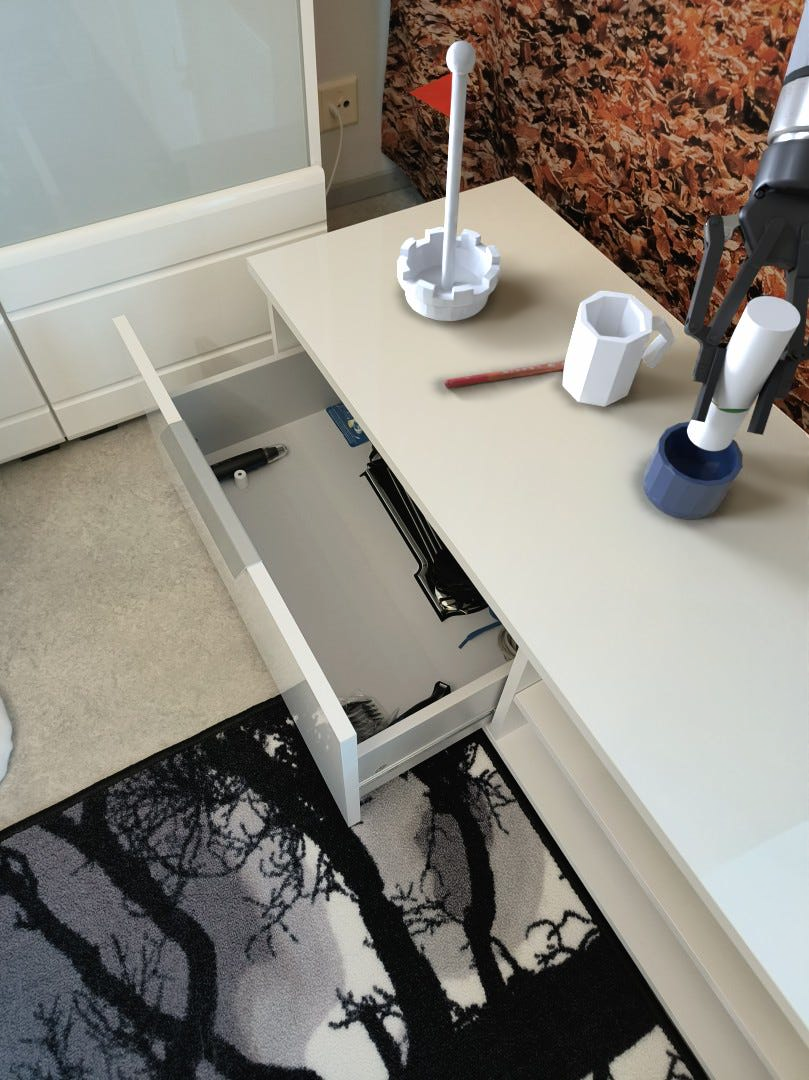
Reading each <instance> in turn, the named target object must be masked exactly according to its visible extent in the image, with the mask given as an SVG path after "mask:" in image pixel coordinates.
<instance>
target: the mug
mask: <svg viewBox="0 0 809 1080" xmlns="http://www.w3.org/2000/svg"><path fill="white" fill-rule="evenodd" d="M576 314H577V315H576V319H575V323H574V327H573V330H572V334H571V338H570V342H569V345H568V348H567V353H566V356H565V360H564V361H565V366H564V370H562V371H563V372H562V387H563V388H564V389H565V390H566V391H567V392H568V393H569V394H570V396H572V397H573V399H574V400H576V402H577V403H581V404H587V405H592V406H598V407H605V408H606V407H607V406H609V405H612V404H614V403H615V402H618V401H619V400H621V399H623V398H625V397H627V396H628V395H629V392H630V390H631V388H632V384H633V382H634V379H635V376H636V374H637V372H638V369H639V366H640V363H641V361H642V362H643V363H644V364H645V365H646V366H647V368H648V367H649V368H653V369H655V368H656V367H657V366H658V365H659V363H660V361H661V360H663V357H664V356H665V355H666V354H667V352H668V351H669V350H670V349H671V347H672V346H673V344H674V343H675V342H676V341H677V337H676V336H675V335H674V333H673V330H672V328H671V327H670V325H669V324H668V323H667V321H665V319H664V318H663V316H662V315H661V314H659V315H654V316H653V312H652V311H651V310H650V309H649V308H648V307H647V306H645V305H644V304H643V303H642V302H641V301H640V300H639V299H638V298H637V297H635V296H634V294H630V293H624V292H616V291H609V290H602V289H600V290H599V291H597V292H595V293H594V294H592V295H590V296H589V297H587V298H585V299H583V300H582V301H581V302H580V303H579V307H578V310H577V313H576ZM652 332H659V334H658V335H657V336H656V337H655V338H654V339H653V340H652V342H651V343H650V344H649V345H648V342H649V340H650V338H651V334H652ZM647 345H648V346H647Z"/></svg>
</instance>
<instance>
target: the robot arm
mask: <svg viewBox="0 0 809 1080" xmlns="http://www.w3.org/2000/svg"><path fill="white" fill-rule="evenodd" d="M799 21H800V22H799V25H798V29H797V33H796V36H795V39H794V42H793V46H792V50H791V54H790V58H789V60H788V64H787V68H786V72H785V75H784V78H783V84H782V87H781V90H780V93H779V97H778V99H777V103H776V105H775V110H774V112H773V116H772V120H771V122H770V126H769V129H768V132H767V135H766V143H767V145H768V146H767V147H766V148H765V149H764V150H763V151H762V152H761V155H760V158H759V162H758V164H757V165H758V166H757V169H756V172H755V176H754V179H753V183H752V186H751V189H750V193H749V195H748V198H747V201H746V203H745V204H744V205H743V206H742V207H741V209H739V211H738V213H733V214H728V215H724V216H722V215H720V214H717V213H716V214H713V215H711V216H710V217H709V218H708V220H707V221H706V222H705V223H704V225H703V243H704V244H703V245H704V251H703V254H702V258H701V262H700V266H699V270H698V273H697V277H696V281H695V285H694V288H693V293H692V296H691V300H690V304H689V307H688V311H687V315H686V319H685V322H684V327H683V332H684V334H685V335H686V336H689V337H691V338H692V339H694V340H695V341H697V342H698V344H699V351H698V355H697V358H696V360H695V365H694V367H693V371H692V374H691V378H692V382H695V383H700V384H701V386H700V389H699V392H698V395H697V399H696V401H695V405H694V408H693V412H692V415H691V419H690V421H691V420H694V421H699V422H705V421H706V417H707V414H708V411H709V407H710V404H711V401H712V397H713V394H714V391H715V388H716V384H717V381H718V378H719V374H720V371H721V368H722V365H723V361H724V358H725V355H726V351H727V349H726V348H724V347H719V344H720V343H721V341H722V339H723V337H724V335H725V333H726V332H727V330H728V328H729V327H730V325H731V323H732V321H733V319H734V317H735V315H736V313H738V310H739V308H740V307H741V304H742V302H743V301H744V299H745V297H746V295H747V294H748V292H749V290H750V288H751V286H752V284H753V283H754V281H755V279H756V277H757V275H758V274H759V273H760V271H761V270H762V268H763V267H775V268H777V269H779V270H782V271H785V278H784V280H785V281H784V282H785V297H784V300H785V301H787V302H789V303H790V304H792V305H793V306H794V307H795V308H796V309H797V310H798V312H799V314H800V322H799V324H798V326H797V328H796V330H795V331H794V333H793V335H792V337H791V338H790V340H789V342H788V344H787V345H786V347H785V349H784V351H783V352H782V354H781V356H780V358H779V359H778V361H777V363H776V365H775V366H774V368H773V370H772V372H771V373H770V375H769V377H768V379H767V380H766V382H765V384H764V386H763V387H762V389H761V391H760V393H759V394H758V396H757V398H756V400H755V403H754V404H755V405H754V408H753V411H752V414H751V418H750V420H749V424H748V427H747V429H746V432H747V433H750V434H755V435H760V436H764V433H765V430H766V427H767V425H768V424H767V423H768V421H769V418H770V414H771V411H772V408H773V405H774V402H775V399H777V400H785V399H786V398H787V397H788V396H789V394H790V391H791V388H792V386H793V382H794V379H795V375H796V373H797V369H798V367H799V365H800V364H801V363H802V362H804V361H809V336H808V338H807V340H806V342H805V339H806V338H805V337H806V328H807V317H808V306H809V0H804V8H803V11H802V15H801V19H800V20H799ZM735 229H737V230H738V233H739V235H740V238H741V240H742V241H741V242H742V243H743V246H744V249H745V251H746V254H745V256H744V258H743V261H742V262H741V264H740V266H739V268H738V270H737V273H736V275H735V277H734V278H733V281H732V282H731V284H730V286H729V287H728V290H727V292H726V294H725V295H724V297H723V299H722V301H721V302H720V305H719V306H718V308H717V310H716V311H715V314H714V316H713V317H712V319H711V321H710V323H709V324H708V325H706V324H704V323H705V320H706V316H707V312H708V309H709V305H710V301H711V299H712V293H713V290H714V286H715V283H716V279H717V275H718V271H719V268H720V265H721V261H722V257H723V253H724V248H725V244H726V243H727V242H728V241H730V240H731V238H732V237H733V233H734V230H735Z"/></svg>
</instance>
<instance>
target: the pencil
mask: <svg viewBox="0 0 809 1080" xmlns="http://www.w3.org/2000/svg"><path fill="white" fill-rule="evenodd" d="M564 366H565V360H562V361H554V362H550V363H542V364H537V365H531V366H525V367H519V368H511V369H505V370H499V371H493V372H485V373H479V374H474V375H466V376H460V377H454V378H448V379H445V380H444V386H445V388H446V389H450V388H456V387H461V386H462V387H463V386H469V385H470V386H471V385H475V384H482V383H488V382H495V381H500V380H501V381H503V380H507V379H514V378H520V377H528V376H533V375H538V374H539V375H540V374H546V373H552V372H558V371H563V370H564Z"/></svg>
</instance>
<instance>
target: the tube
mask: <svg viewBox="0 0 809 1080" xmlns="http://www.w3.org/2000/svg"><path fill="white" fill-rule="evenodd" d="M799 322H800V314H799V312H798V310H797V309H796V308H795V307H794V306H793V305H792V304H790V303H789V302H787V301H785V299H783V298H779V297H777V296H771V295H761V296H757V297H754V298H752V299H751V300H749V302H748V303H747V304H746V307H745V309H744V311H743V312H742V315H741V317H740V319H739V321H738V323H737V325H736V327H735V329H734V331H733V334H732V335H731V337H730V340H729V342H728V344H727V346H726V348H725V349H727V351H726V355H725V358H724V361H723V365H722V368H721V371H720V374H719V378H718V381H717V384H716V388H715V391H714V394H713V397H712V401H711V404H710V407H709V411H708V414H707V417H706V421H705V422H699V421H694V420H691V419H690V421H689V422H690V424H689V426H688V430H687V432H688V436H689V438H690V440H691V441H692V442H693V443H694V444H695V445H697V446H698V447H700V448H702V449H705V450H709V451H720V450H723V449H725V448H727V447H728V446H729V445H730V443H731V442H732V440H733V439H734V438H735V436H736V434H737V433H738V432H739V429H740V428H741V426H742V424H743V423H744V420H745V419H746V417H747V415H748V414H749V411H751V408H752V406H753V405H754V404H755V402H756V401H757V398H758V395H759V393H760V391H761V389H762V387H763V386H764V384H765V382H766V380H767V379H768V377H769V375H770V373H771V372H772V370H773V368H774V366H775V365H776V363H777V361H778V359H780V356H781V354H782V352H783V351H784V349H785V347H786V345H787V344H788V342H789V340H790V338H791V337H792V335H793V333H794V331H795V330H796V328H797V326H798V324H799Z"/></svg>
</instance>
